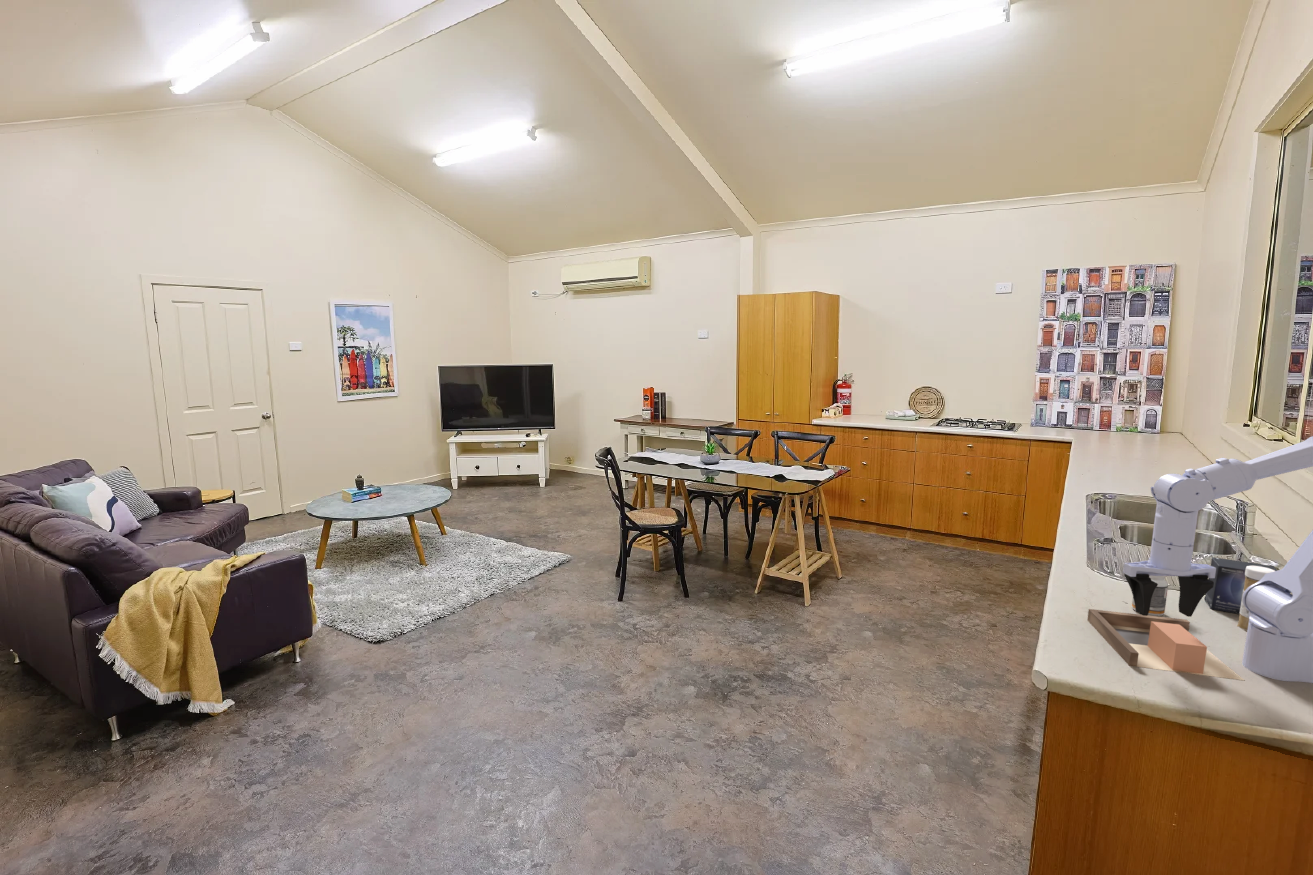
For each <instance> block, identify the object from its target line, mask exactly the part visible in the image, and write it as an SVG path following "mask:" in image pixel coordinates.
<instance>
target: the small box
mask: <svg viewBox="0 0 1313 875" xmlns="http://www.w3.org/2000/svg"><path fill="white" fill-rule="evenodd" d="M1210 562H1211V563H1210V566H1212V567H1215V568H1216V573H1215V578H1208V579H1209V580H1211V581H1213V582H1214V585H1213V588H1212V589H1210V590H1209V591H1208V592H1207V593H1206V594H1205V595H1204V597H1203V598H1204V601H1205V602H1206V603H1207V605H1208V607H1209V608H1210V609H1211V610H1213V611H1214V610H1215V611H1220V612H1226V613H1232V614H1237V615H1240V607H1241V601H1242V594H1243V589H1244V584H1245V576H1246V575H1245V570H1246V567H1247V566H1260V567H1265V568H1269V569H1272V570H1274V571H1278V569H1277V568H1275V567H1274V566H1273V565H1269V564H1262V563H1256V562H1247V561H1241V560H1234V559H1227V558H1220V557H1214V556H1213V557H1211V561H1210Z"/></svg>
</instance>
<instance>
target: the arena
mask: <svg viewBox="0 0 1313 875" xmlns="http://www.w3.org/2000/svg"><path fill="white" fill-rule="evenodd" d="M1151 621H1153V622H1162V623H1170V624H1179V625H1181V626H1182V627H1183V628H1184V629H1186V630H1187V631H1188V632H1189V630H1190V623H1191V622H1190V620H1188V619H1183V618H1177V617H1176V618H1175V617H1168V616H1167V617H1166V616H1149V615H1147V616H1143V615H1141V614H1140V613H1139V614H1137V613H1129V612H1121V611H1119V612H1118V611H1112V610H1111V611H1110V610H1102V609H1093V608H1089V609H1088V612H1087V622H1088V623H1089V624H1090V625H1091V626H1092V627H1093V629H1094V630H1095V631H1096V632H1097V633H1098V634H1099V635H1100V636H1101V637H1102V638H1103V639H1104V640H1105V642H1107V644H1108V645H1109V646H1110V647H1111V649H1113V650H1114V651H1115V653H1116V654H1118V656H1119V657H1120V658H1121V659H1122V660H1123V661H1124V662H1125V663H1126V664H1127V665H1128V666H1129V667H1136V668H1143V669H1152V670H1158V671H1159V670H1160V671H1166V672H1167V671H1168V672H1173V673H1174V672H1177V673H1183V674H1191V675H1197V676H1205V677H1215V678H1222V679H1229V680H1236V681H1245V679H1244V678H1243V677H1241V676H1240V675H1239V674H1238V673H1236V671H1234V670H1233V669H1231V668H1230V667H1229V666H1228V665H1227V664H1225V663H1224V662H1223V661H1222V660H1220V658H1219V657H1217V656H1216V655H1214V654H1213V653H1212V652H1211V651H1210V650H1208V649H1207V651H1206V658H1205V664H1204V670H1203V674H1201V673H1193V672H1186V671H1178V670H1172V669H1171V668H1170V667H1169V666H1168V665H1167V664H1166V663H1165V662H1164V661H1163V660H1162V659H1161V658H1160V657H1158V656H1157V655H1156V654H1155V653H1154V652H1153V651H1152V650H1151V649H1150V648H1149V647H1148V640H1149V633H1150V626H1151Z"/></svg>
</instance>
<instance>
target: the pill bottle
mask: <svg viewBox="0 0 1313 875" xmlns="http://www.w3.org/2000/svg"><path fill="white" fill-rule="evenodd" d="M1166 577H1167V576H1149V578H1151V581H1153V582H1155V583H1157V584H1158V585H1157V587H1156V588H1155V590H1154V592H1153V595H1152V598H1151V603H1150V609H1149V613H1148V615H1149V616H1158V617H1163V616H1164V615H1165V612H1166V607H1167V606H1166V604H1167V597H1168V589H1169V582H1168V581H1167V580H1166V579H1165V578H1166ZM1131 602H1132V603H1131V608H1132V609H1133V610H1134V611H1135V612H1136V609H1135V603H1134V598H1133V597H1132V601H1131Z"/></svg>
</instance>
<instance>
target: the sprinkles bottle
mask: <svg viewBox="0 0 1313 875" xmlns="http://www.w3.org/2000/svg"><path fill="white" fill-rule="evenodd" d="M1270 572H1274V570H1272V569H1269V568H1265V567H1260V566H1247V567H1246V570H1245V575H1246V576H1245V584H1244V589H1243V593H1244V591H1245V590H1246V589H1247V588H1248V587H1249V586H1251V585H1253V584H1255V583H1257V582H1258V581H1260V580H1261V579H1262V578H1263V576H1264V575H1265V574H1267V573H1270ZM1242 596H1243V594H1242ZM1248 616H1249V611H1248V610H1247V609H1246V608H1245V606H1244V604H1243V601H1241V607H1240V614H1239V616H1238V622H1237V623H1238V624H1237V625H1236V627H1239V628H1240V629H1241V630H1243V631H1245V632H1246V633H1247V630H1248V624H1249V617H1248Z"/></svg>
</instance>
